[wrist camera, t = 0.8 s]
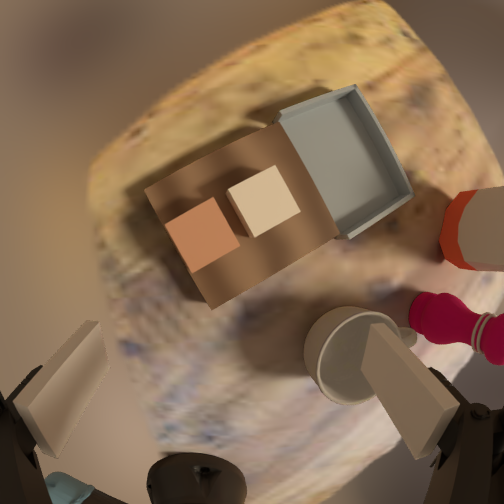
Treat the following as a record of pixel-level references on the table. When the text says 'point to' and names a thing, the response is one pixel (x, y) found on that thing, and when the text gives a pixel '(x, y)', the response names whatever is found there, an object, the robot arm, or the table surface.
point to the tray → (347, 158)
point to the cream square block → (262, 201)
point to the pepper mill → (458, 325)
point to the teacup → (345, 352)
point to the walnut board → (251, 249)
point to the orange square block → (202, 235)
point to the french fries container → (475, 230)
